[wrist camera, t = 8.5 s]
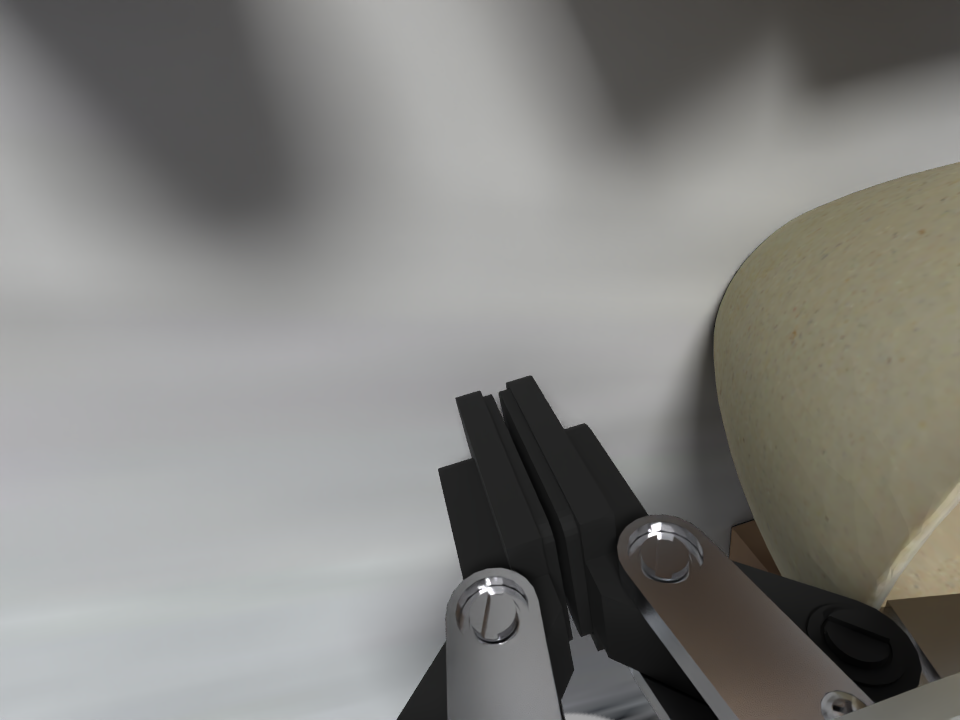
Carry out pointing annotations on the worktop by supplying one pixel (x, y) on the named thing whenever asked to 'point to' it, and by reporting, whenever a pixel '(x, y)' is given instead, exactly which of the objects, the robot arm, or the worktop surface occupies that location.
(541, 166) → the worktop surface
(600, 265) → the worktop surface
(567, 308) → the worktop surface
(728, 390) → the flower pot
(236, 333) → the worktop surface
